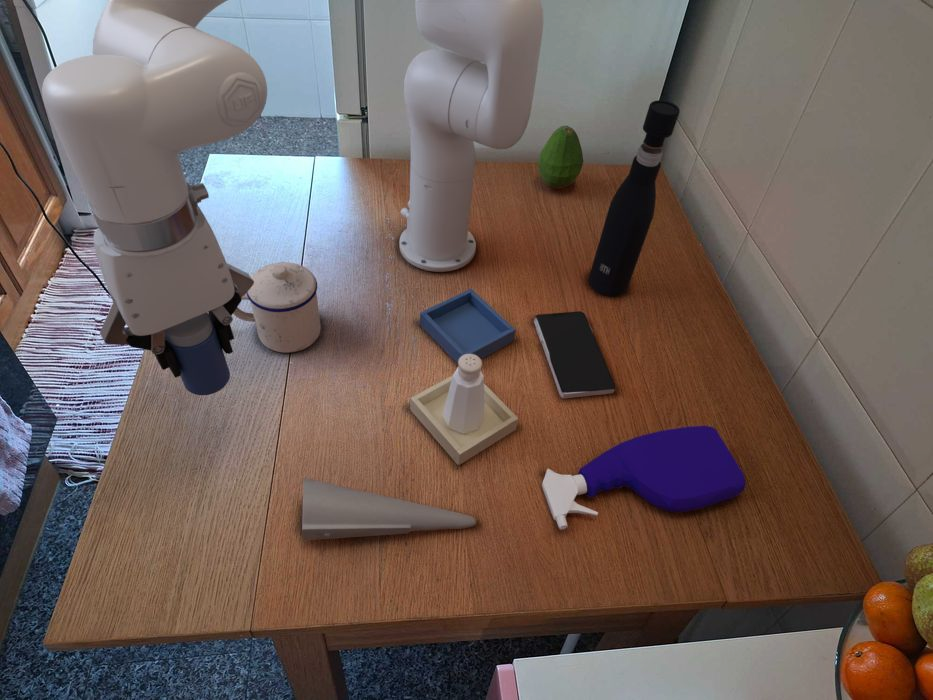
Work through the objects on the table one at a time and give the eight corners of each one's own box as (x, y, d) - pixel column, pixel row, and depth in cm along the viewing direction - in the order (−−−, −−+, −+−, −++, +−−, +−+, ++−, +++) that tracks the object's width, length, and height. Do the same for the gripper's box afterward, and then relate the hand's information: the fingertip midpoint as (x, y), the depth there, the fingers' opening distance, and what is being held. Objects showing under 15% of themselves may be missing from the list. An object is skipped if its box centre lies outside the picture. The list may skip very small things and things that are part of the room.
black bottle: (626, 272, 106) (686, 98, 84) (629, 299, 102) (693, 122, 80) (587, 268, 106) (637, 92, 84) (588, 294, 102) (642, 116, 80)
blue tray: (419, 324, 95) (419, 312, 93) (469, 300, 99) (471, 288, 97) (462, 369, 90) (464, 357, 88) (513, 341, 94) (516, 329, 92)
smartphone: (561, 394, 87) (533, 314, 96) (559, 399, 87) (531, 320, 97) (617, 388, 88) (584, 310, 98) (615, 393, 89) (582, 316, 99)
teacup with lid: (324, 309, 95) (317, 246, 87) (320, 355, 89) (311, 293, 80) (241, 308, 94) (225, 245, 85) (230, 355, 88) (212, 292, 79)
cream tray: (409, 409, 84) (410, 397, 82) (466, 378, 88) (467, 366, 87) (458, 465, 79) (459, 454, 77) (515, 429, 83) (518, 418, 81)
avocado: (533, 193, 120) (543, 134, 111) (536, 171, 125) (547, 112, 116) (575, 200, 119) (590, 141, 110) (577, 177, 125) (591, 119, 116)
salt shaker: (484, 435, 82) (493, 380, 74) (441, 433, 81) (446, 377, 73) (484, 402, 85) (493, 345, 77) (443, 399, 85) (447, 342, 77)
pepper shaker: (176, 373, 70) (152, 316, 64) (218, 355, 73) (199, 297, 66) (194, 402, 68) (171, 346, 61) (237, 382, 70) (219, 325, 64)
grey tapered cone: (474, 465, 74) (303, 468, 70) (481, 519, 71) (301, 526, 66) (465, 485, 79) (303, 490, 75) (471, 537, 75) (302, 544, 71)
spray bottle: (710, 416, 84) (532, 452, 78) (757, 489, 77) (565, 534, 71) (703, 429, 86) (529, 465, 80) (747, 501, 79) (560, 546, 73)
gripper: (224, 163, 60) (258, 303, 73) (23, 225, 52) (102, 369, 66) (261, 204, 56) (290, 344, 70) (51, 278, 48) (129, 419, 62)
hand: (198, 355), depth 68 cm, fingers closed on pepper shaker, 4 cm apart
